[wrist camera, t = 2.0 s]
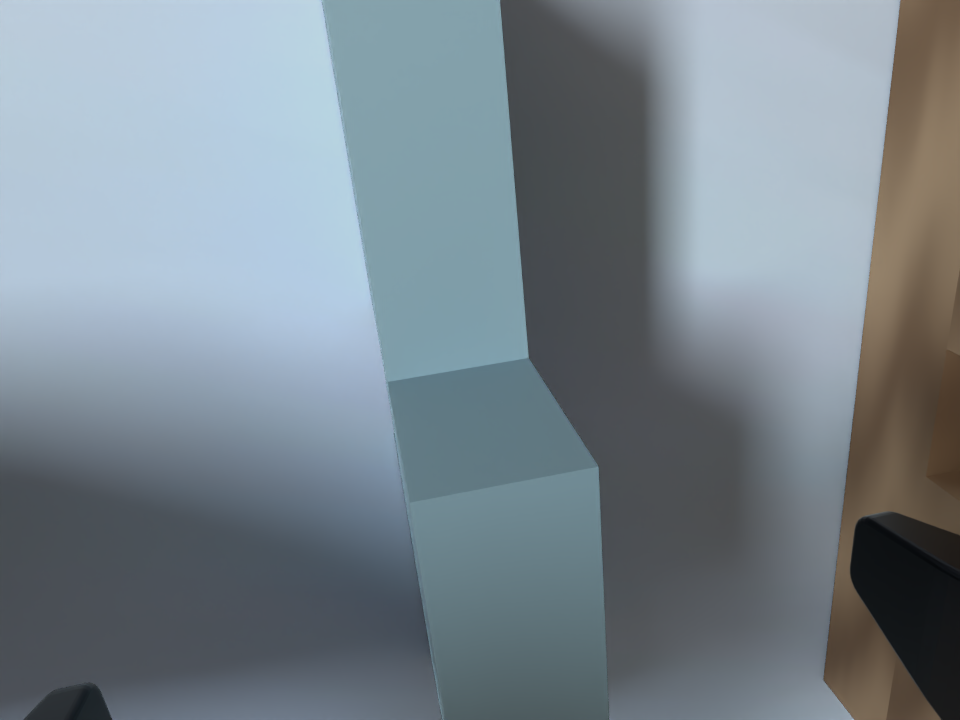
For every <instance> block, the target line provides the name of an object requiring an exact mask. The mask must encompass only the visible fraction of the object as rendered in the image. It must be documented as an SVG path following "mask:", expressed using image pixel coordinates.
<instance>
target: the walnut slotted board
mask: <svg viewBox="0 0 960 720" xmlns="http://www.w3.org/2000/svg"><path fill="white" fill-rule="evenodd" d="M886 511H892V512H897V513H900V514H902V515H905V516H908V517H911V518H913V519H916V520H919V521H922V522H925V523H927V524H930V525H933V526H936V527H938V528H941V529H944V530H947V531H950V532H952V533H955V534H958V535H960V0H901V2H900V10H899V19H898V28H897V37H896V46H895V54H894V63H893V72H892V81H891V90H890V98H889V107H888V116H887V125H886V134H885V142H884V151H883V160H882V169H881V178H880V187H879V195H878V204H877V213H876V222H875V231H874V239H873V248H872V257H871V266H870V275H869V283H868V292H867V301H866V310H865V319H864V327H863V336H862V345H861V354H860V363H859V372H858V380H857V389H856V398H855V407H854V416H853V424H852V433H851V442H850V451H849V460H848V468H847V477H846V486H845V495H844V504H843V513H842V521H841V530H840V539H839V548H838V557H837V565H836V574H835V583H834V592H833V601H832V609H831V618H830V627H829V636H828V645H827V653H826V662H825V671H824V681H825V683H826V684H827V685H828V686H829V688H830V689H831V690H832V692H833V693H834V694H835V695H836V697H837V698H838V699H839V700H840V702H841V703H842V704H843V706H844V707H845V708H846V709H847V711H848V712H849V713H850V715H851V716H852V717H853V718H854V720H941V719H940V718H939V716H938V715H937V713H936V712H935V711H934V709H933V708H932V707H931V705H930V704H929V703H928V701H927V700H926V699H925V697H924V696H923V694H922V693H921V691H920V690H919V688H918V687H917V685H916V684H915V683H914V681H913V680H912V678H911V676H910V675H909V673H908V672H907V670H906V669H905V667H904V666H903V664H902V662H901V661H900V659H899V658H898V656H897V655H896V653H895V651H894V650H893V648H892V647H891V645H890V644H889V642H888V641H887V639H886V637H885V636H884V634H883V633H882V631H881V630H880V628H879V626H878V625H877V623H876V622H875V620H874V619H873V617H872V616H871V614H870V612H869V611H868V609H867V608H866V606H865V605H864V603H863V601H862V600H861V598H860V597H859V595H858V594H857V592H856V590H855V588H854V586H853V584H852V581H851V577H850V561H851V553H852V545H853V537H854V529H855V524H856V523H857V521H858V520H859V519H860V518H861V517H863V516H867V515H871V514H876V513H881V512H886Z"/></svg>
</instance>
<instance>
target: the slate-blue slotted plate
mask: <svg viewBox="0 0 960 720" xmlns="http://www.w3.org/2000/svg"><path fill="white" fill-rule="evenodd" d="M322 5H323V11H324V17H325V23H326V29H327V35H328V41H329V47H330V53H331V59H332V65H333V71H334V77H335V83H336V89H337V95H338V101H339V107H340V113H341V119H342V125H343V131H344V137H345V143H346V149H347V155H348V161H349V167H350V173H351V179H352V185H353V191H354V197H355V203H356V209H357V215H358V221H359V227H360V233H361V239H362V245H363V251H364V257H365V263H366V269H367V275H368V281H369V287H370V293H371V299H372V305H373V310H374V316H375V321H376V326H377V332H378V337H379V343H380V348H381V354H382V360H383V366H384V372H385V378H386V384H387V390H388V396H389V402H390V408H391V414H392V420H393V426H394V432H395V433H394V437H395V443H396V449H397V455H398V461H399V467H400V473H401V479H402V485H403V491H404V497H405V503H406V509H407V515H408V521H409V527H410V533H411V539H412V545H413V551H414V557H415V563H416V569H417V575H418V581H419V587H420V593H421V599H422V605H423V611H424V617H425V623H426V629H427V635H428V641H429V647H430V653H431V659H432V665H433V671H434V677H435V682H436V688H437V694H438V700H439V705H440V711H441V717H442V720H609V703H608V679H607V655H606V631H605V608H604V584H603V560H602V536H601V513H600V489H599V466H598V465H597V463H596V462H595V460H594V459H593V457H592V456H591V454H590V452H589V451H588V449H587V448H586V446H585V445H584V443H583V442H582V440H581V438H580V437H579V435H578V434H577V432H576V431H575V429H574V428H573V426H572V424H571V423H570V421H569V420H568V418H567V417H566V415H565V414H564V412H563V410H562V409H561V407H560V406H559V404H558V403H557V401H556V400H555V398H554V397H553V395H552V393H551V392H550V390H549V389H548V387H547V386H546V384H545V383H544V381H543V379H542V378H541V376H540V375H539V373H538V372H537V370H536V369H535V367H534V365H533V364H532V362H531V361H530V359H529V356H528V343H527V331H526V319H525V306H524V294H523V281H522V269H521V256H520V244H519V231H518V219H517V206H516V194H515V182H514V169H513V157H512V144H511V132H510V119H509V107H508V94H507V82H506V69H505V57H504V45H503V32H502V20H501V7H500V0H322Z"/></svg>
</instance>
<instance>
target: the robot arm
mask: <svg viewBox="0 0 960 720" xmlns="http://www.w3.org/2000/svg"><path fill="white" fill-rule="evenodd" d="M850 577H851V581H852V584H853V586H854V588H855V590H856V592H857V594H858V595H859V597H860V598H861V600H862V601H863V603H864V605H865V606H866V608H867V609H868V611H869V612H870V614H871V616H872V617H873V619H874V620H875V622H876V623H877V625H878V626H879V628H880V630H881V631H882V633H883V634H884V636H885V637H886V639H887V641H888V642H889V644H890V645H891V647H892V648H893V650H894V651H895V653H896V655H897V656H898V658H899V659H900V661H901V662H902V664H903V666H904V667H905V669H906V670H907V672H908V673H909V675H910V676H911V678H912V680H913V681H914V683H915V684H916V685H917V687H918V688H919V690H920V691H921V693H922V694H923V696H924V697H925V699H926V700H927V701H928V703H929V704H930V705H931V707H932V708H933V709H934V711H935V712H936V713H937V715H938V716H939V718H940V719H941V720H960V535H958V534H955V533H952V532H950V531H947V530H944V529H941V528H938V527H936V526H933V525H930V524H927V523H925V522H922V521H919V520H916V519H913V518H911V517H908V516H905V515H902V514H900V513H897V512H892V511H886V512H881V513H876V514H871V515H867V516H863V517H861V518H860V519H859V520H858V521H857V523H856V524H855V529H854V537H853V545H852V553H851V561H850ZM24 720H112V718H111V716H110V713H109V711H108V708H107V706H106V704H105V701H104V699H103V696H102V694H101V692H100V690H99V688H98V687H97V686H96V685H95V684H93V683H83V684H79V685H74V686H69V687H65V688H60V689H57V690H55V691H53V692H51V693H50V694H49V695H47V696H46V697H45V698H44V699H43V700H42V701H41V702H40V703H39V704H38V705H37V706H36V707H35V709H34V710H33V711H32V712H31V713H30V714H29V715H28V716H27V717H26V718H25V719H24Z"/></svg>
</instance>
